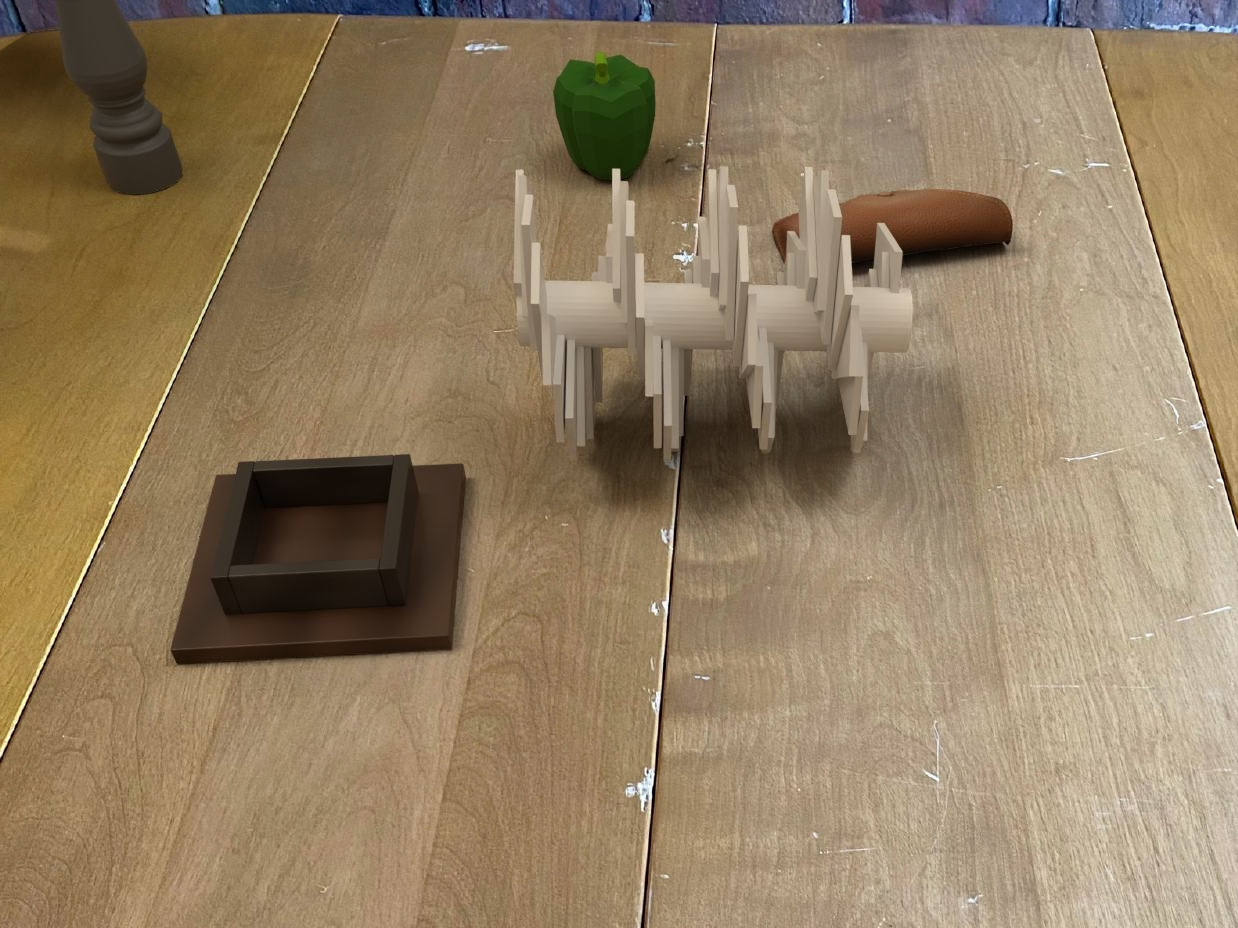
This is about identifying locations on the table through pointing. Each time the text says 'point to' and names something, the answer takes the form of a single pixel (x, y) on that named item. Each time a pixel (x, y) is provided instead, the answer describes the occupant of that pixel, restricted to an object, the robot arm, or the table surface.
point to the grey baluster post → (117, 96)
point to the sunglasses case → (915, 221)
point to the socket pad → (324, 560)
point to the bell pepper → (605, 113)
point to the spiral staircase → (710, 312)
